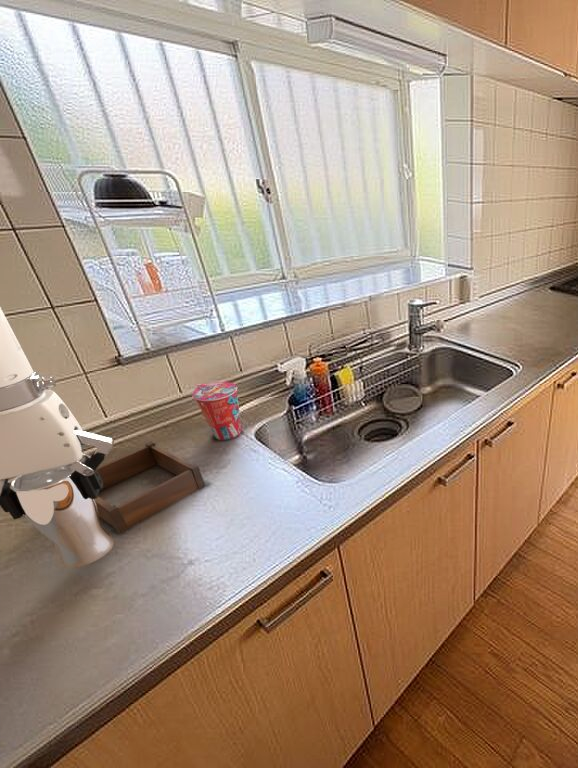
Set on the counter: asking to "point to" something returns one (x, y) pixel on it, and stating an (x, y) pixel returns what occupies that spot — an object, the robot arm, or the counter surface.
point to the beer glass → (63, 514)
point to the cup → (220, 408)
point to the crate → (153, 498)
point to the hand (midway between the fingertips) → (59, 501)
